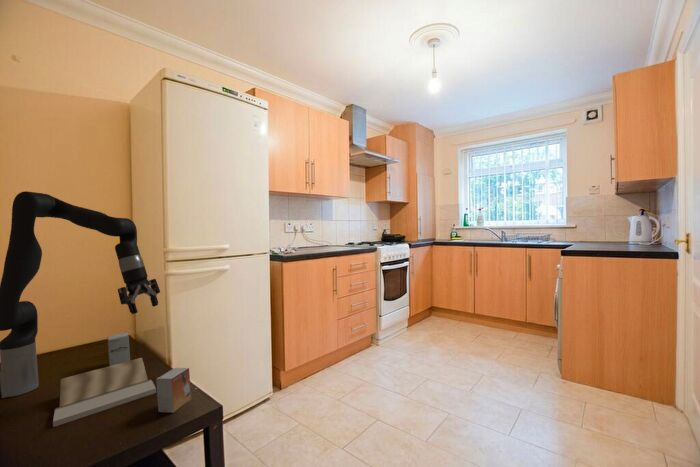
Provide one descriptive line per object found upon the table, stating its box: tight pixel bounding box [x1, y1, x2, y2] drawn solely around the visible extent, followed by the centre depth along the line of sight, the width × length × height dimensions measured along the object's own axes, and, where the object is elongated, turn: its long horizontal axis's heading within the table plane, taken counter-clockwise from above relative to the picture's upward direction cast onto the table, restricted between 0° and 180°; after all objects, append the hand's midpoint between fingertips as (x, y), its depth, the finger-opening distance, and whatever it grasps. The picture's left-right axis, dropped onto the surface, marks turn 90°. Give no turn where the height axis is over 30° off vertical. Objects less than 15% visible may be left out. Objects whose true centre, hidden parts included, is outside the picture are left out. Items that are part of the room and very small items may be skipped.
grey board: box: [52, 379, 157, 428], centre depth 104 cm, size 26×10×2 cm, turn 131°
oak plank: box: [59, 357, 149, 407], centre depth 113 cm, size 24×14×2 cm, turn 131°
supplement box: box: [107, 332, 131, 366], centre depth 137 cm, size 7×7×13 cm
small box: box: [155, 367, 192, 414], centre depth 99 cm, size 8×6×10 cm
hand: (145, 309), depth 118 cm, fingers open, 8 cm apart
